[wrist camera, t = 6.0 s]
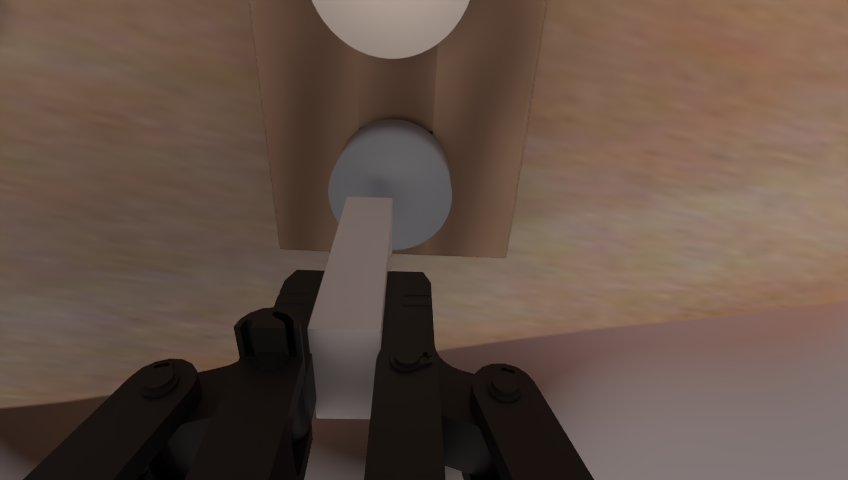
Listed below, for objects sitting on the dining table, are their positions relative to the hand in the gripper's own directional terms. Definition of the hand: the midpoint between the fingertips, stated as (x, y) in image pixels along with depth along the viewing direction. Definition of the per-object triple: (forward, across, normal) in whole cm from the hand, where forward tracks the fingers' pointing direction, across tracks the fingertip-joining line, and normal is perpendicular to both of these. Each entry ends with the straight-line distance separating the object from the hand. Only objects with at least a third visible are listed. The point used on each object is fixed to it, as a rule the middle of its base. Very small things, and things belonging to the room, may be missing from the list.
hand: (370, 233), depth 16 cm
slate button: (+8, +1, 0) cm, 8 cm away
